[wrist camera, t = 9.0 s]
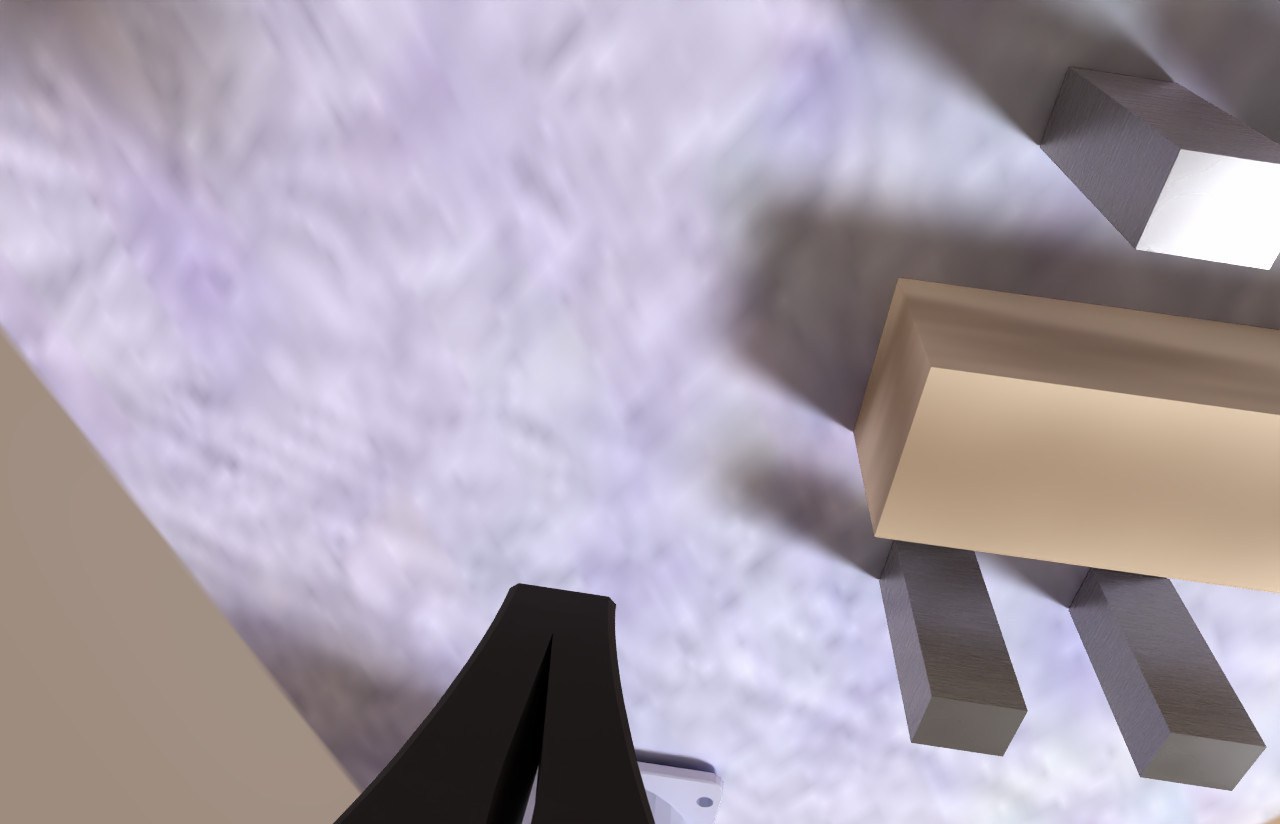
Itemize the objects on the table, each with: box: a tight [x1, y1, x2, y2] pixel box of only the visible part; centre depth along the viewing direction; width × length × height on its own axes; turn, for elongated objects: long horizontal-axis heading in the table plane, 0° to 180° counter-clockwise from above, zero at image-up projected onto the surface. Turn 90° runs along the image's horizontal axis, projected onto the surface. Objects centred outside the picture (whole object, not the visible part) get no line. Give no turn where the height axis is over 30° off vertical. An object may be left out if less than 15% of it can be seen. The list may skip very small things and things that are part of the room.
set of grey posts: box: [879, 67, 1280, 756], centre depth 18 cm, size 13×2×5 cm, turn 173°
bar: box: [853, 278, 1280, 593], centre depth 19 cm, size 4×12×4 cm, turn 84°
